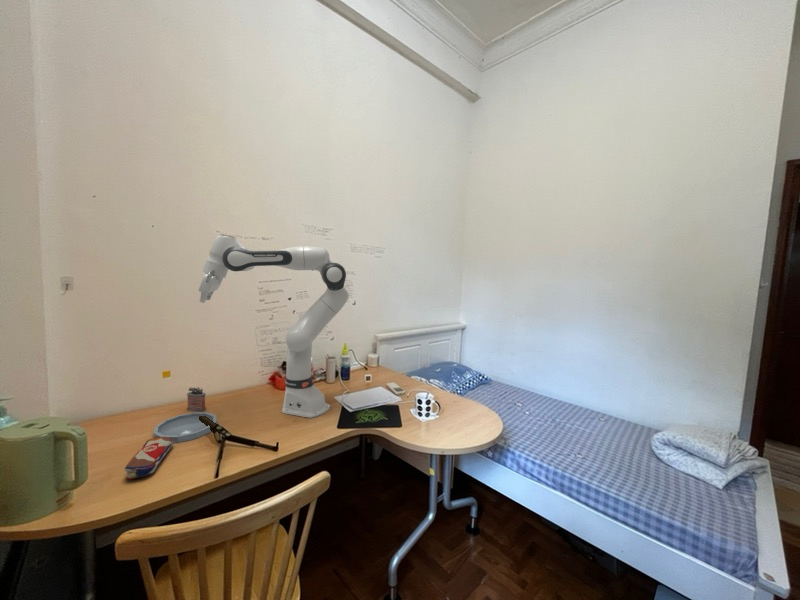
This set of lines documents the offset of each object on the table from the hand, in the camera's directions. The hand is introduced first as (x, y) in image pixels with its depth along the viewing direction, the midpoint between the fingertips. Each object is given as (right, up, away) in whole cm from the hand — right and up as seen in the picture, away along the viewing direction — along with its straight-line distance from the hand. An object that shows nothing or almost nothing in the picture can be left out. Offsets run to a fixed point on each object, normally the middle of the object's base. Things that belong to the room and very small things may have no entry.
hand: (204, 300), depth 132 cm
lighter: (-7, -49, +5) cm, 50 cm away
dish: (+1, -50, -12) cm, 52 cm away
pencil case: (+4, -53, -33) cm, 62 cm away
